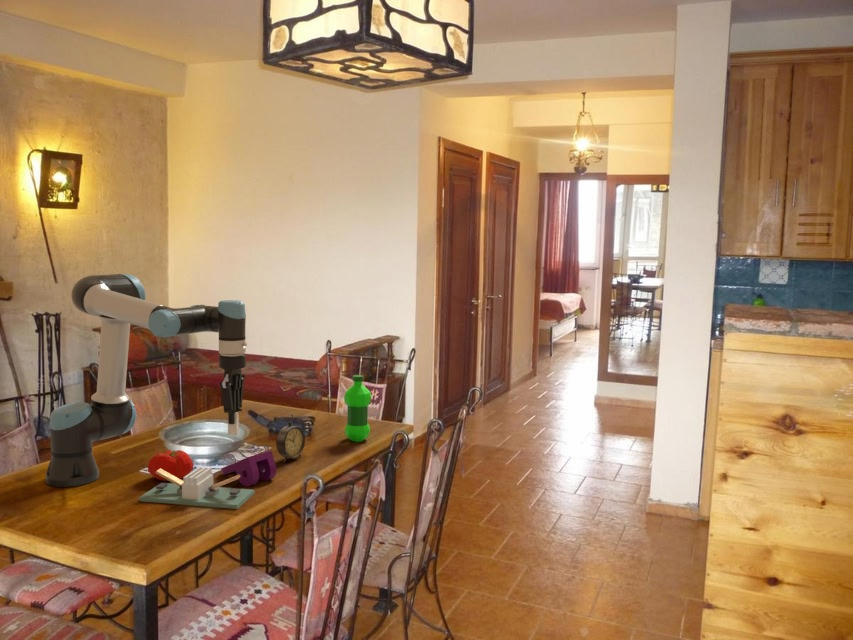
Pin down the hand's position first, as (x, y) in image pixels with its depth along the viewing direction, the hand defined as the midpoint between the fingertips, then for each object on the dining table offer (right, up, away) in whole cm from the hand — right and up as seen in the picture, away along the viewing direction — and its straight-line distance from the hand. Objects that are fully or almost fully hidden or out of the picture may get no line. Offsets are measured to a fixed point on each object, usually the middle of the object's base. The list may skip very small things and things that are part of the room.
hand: (233, 433), depth 215 cm
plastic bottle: (+30, -13, +69) cm, 77 cm away
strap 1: (-20, -15, +5) cm, 25 cm away
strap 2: (-3, -15, +2) cm, 16 cm away
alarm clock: (+8, -16, +43) cm, 46 cm away
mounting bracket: (-2, -18, +22) cm, 29 cm away
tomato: (-25, -18, +21) cm, 37 cm away
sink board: (-12, -19, +4) cm, 23 cm away
